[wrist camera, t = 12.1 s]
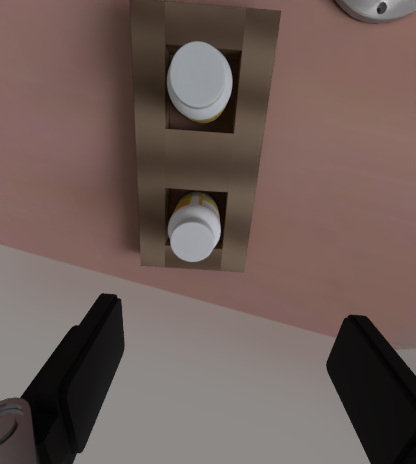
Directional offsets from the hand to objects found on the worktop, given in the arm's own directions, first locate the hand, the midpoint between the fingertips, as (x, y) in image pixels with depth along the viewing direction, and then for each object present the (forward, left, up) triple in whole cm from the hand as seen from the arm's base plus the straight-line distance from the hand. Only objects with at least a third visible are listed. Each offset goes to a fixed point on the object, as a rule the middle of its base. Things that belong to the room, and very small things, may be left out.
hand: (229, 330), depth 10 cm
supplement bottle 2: (+1, -2, -22) cm, 22 cm away
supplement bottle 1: (-12, -2, -22) cm, 24 cm away
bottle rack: (-5, -2, -21) cm, 22 cm away
